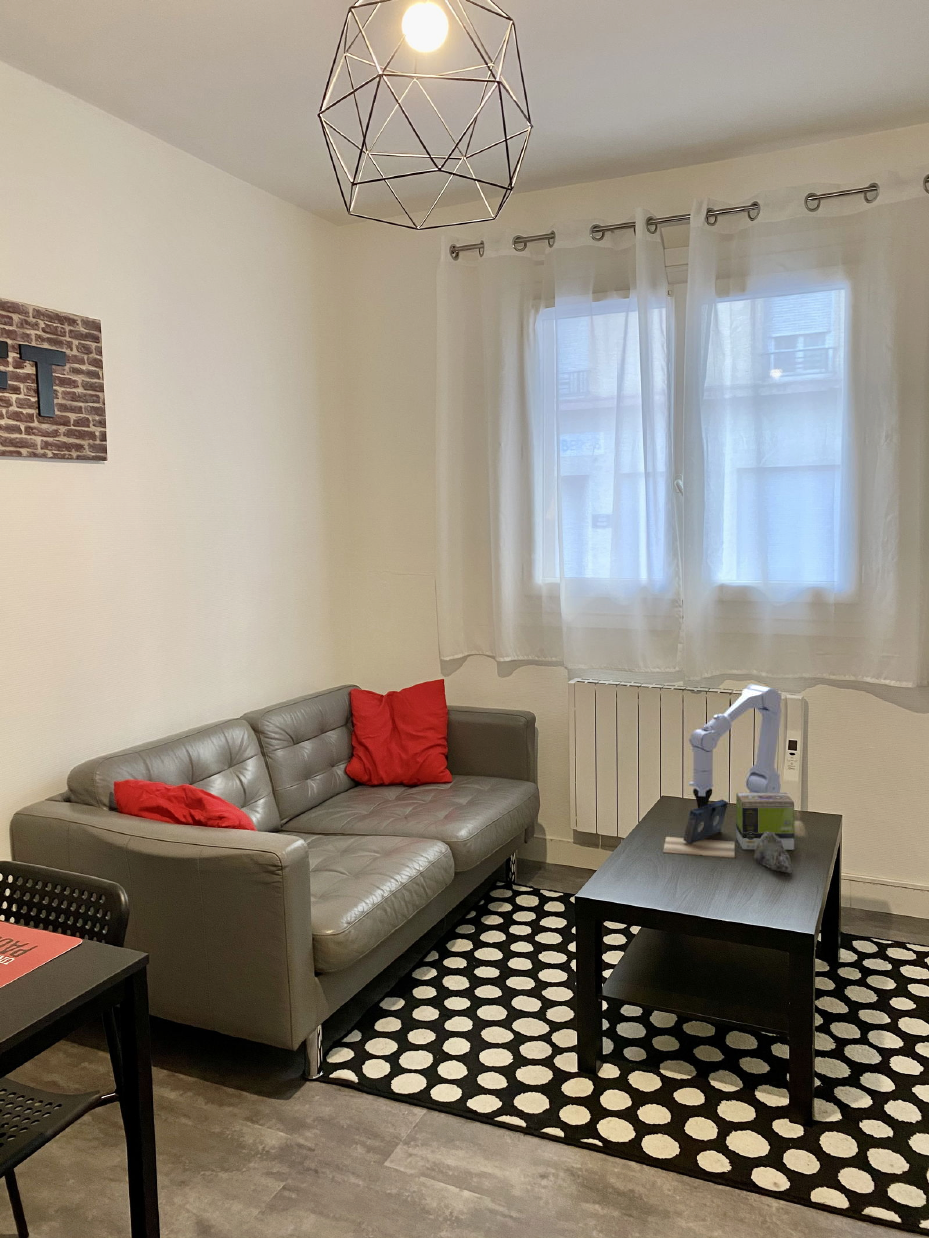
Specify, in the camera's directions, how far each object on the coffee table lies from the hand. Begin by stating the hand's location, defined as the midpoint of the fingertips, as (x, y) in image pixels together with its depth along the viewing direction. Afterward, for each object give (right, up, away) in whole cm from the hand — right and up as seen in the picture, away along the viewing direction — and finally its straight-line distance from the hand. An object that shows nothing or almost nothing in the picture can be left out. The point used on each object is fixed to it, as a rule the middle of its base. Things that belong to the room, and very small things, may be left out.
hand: (702, 812), depth 298 cm
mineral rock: (+13, -10, -28) cm, 32 cm away
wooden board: (-4, -8, -10) cm, 14 cm away
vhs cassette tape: (-1, -7, -2) cm, 7 cm away
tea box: (+16, -8, -9) cm, 20 cm away
